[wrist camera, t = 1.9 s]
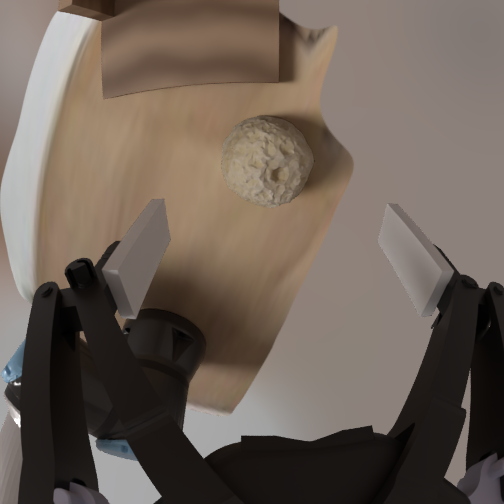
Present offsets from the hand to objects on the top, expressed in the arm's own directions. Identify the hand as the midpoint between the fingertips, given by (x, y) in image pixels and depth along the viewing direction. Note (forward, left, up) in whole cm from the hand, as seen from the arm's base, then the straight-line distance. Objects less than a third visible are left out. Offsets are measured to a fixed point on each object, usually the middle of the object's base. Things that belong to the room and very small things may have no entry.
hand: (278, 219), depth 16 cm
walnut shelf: (+16, +8, -15) cm, 24 cm away
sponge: (0, 0, -16) cm, 16 cm away
